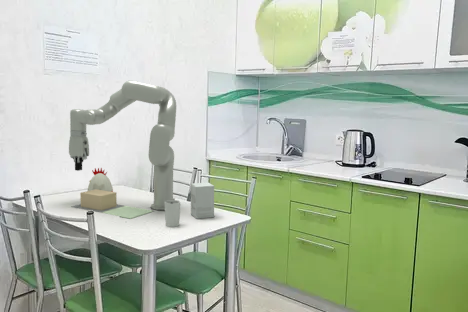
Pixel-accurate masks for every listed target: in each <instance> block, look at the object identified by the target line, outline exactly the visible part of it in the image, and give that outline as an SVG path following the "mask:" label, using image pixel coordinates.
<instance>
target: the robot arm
mask: <svg viewBox="0 0 468 312" xmlns="http://www.w3.org/2000/svg"><path fill="white" fill-rule="evenodd" d="M136 101H138V102H143V103H147V104H152V105H158V106H159V109H158V114H157V122H156V123H157V124H155V125H154V126H153V127H152V128H151V130H150V134H149V142H148V143H149V144H148V145H149V146H148V159H149V162H150V163H151V164H152V165H153V166H154V167H153V203H152V204H150V208H151V210H155V211H165V201H168V200H176V199H175V198H174V165H175V163H174V162H175V152H174V149H173V148H172V146H171V145H170V143H171V141H172V140H173V139H174V137H175V134H176V133H175V128H176V122H177V121H176V119H177V118H176V117H177V102H176V98H175V96H174V94H173V93H172V92H171V91H170V90H168V89H166V88H165V87H162V86H159V85H152V84H147V83H144V82H143V83H142V82H139V81H137V80H128V81H125V82H124V83H123V84H122V85H121V88H120V89H118V90H117V91H116V92H114V93H112V94H111V95H110V96H109V100H108V102H106V103H105V104H104V105H102V106H100V107H99V108H97V109H80V108H78V109H75V108H74V109H71V110H70V112H69V119H70V121H69V125H70V127H69V128H70V136H69V141H68V154H69V156H70V159H73V162H74V170H75V171H77V172H79V171H82V170H83V162H84V161H85V160H88V157H89V156H90V145H89V144H90V143H89V139H88V138H89V137H88V136H87V126H94V125H101V124H103V123H106V122H107V121H109V120H110V119H112V118H113V117H114V116H116V115H117V114H118V113H120V112H121V111H122V110H124V109H125V108H127V107H129V106H130V105H132V104H133V103H134V102H136Z"/></svg>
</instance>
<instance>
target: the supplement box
mask: <svg viewBox="0 0 468 312" xmlns="http://www.w3.org/2000/svg"><path fill="white" fill-rule="evenodd" d="M190 214H191V216H192V217H194V218H195V219H196V220H198V219H206V218H207V219H208V218H214V217H215V185H213V184H212V183H210V182H195V183H190Z"/></svg>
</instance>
